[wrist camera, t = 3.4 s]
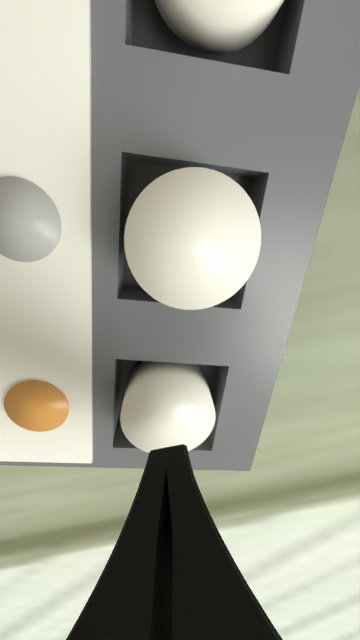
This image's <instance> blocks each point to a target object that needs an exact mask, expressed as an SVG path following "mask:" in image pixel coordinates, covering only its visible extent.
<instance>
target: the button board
mask: <svg viewBox="0 0 360 640" xmlns="http://www.w3.org/2000/svg"><path fill="white" fill-rule="evenodd" d="M359 84H360V0H284V2H283V3H282V5H281V7H280V8H279V10H278V12H277V14H276V15H275V17H274V19H273V20H272V22H271V23H270V24H269V26H268V27H267V29H266V30H265V31H264V32H263V33H262V34H261V35H260V36H259V37H258V38H257V39H256V40H255V41H253V42H252V43H251V44H249V45H248V46H246V47H244V48H243V49H240V50H238V51H236V52H232V53H228V54H219V55H216V54H207V53H204V52H200V51H198V50H196V49H193V48H191V47H190V46H188V45H187V44H185V43H184V42H183V41H181V40H180V39H179V38H178V37H177V36H176V35H175V34H174V33H173V32H172V31H171V29H170V28H169V27H168V26H167V24H166V23H165V21H164V20H163V18H162V16H161V14H160V12H159V11H158V9H157V6H156V4H155V1H154V0H0V465H17V466H61V467H105V468H145V466H146V462H147V459H148V455H149V453H147V452H145V451H142V450H141V449H139V448H137V447H136V446H134V445H133V444H132V443H131V442H130V441H129V440H128V439H127V438H126V436H125V435H124V433H123V431H122V428H121V423H120V416H121V410H122V405H123V399H124V394H125V389H126V384H127V380H128V377H129V375H130V373H131V371H132V370H133V368H134V367H135V366H136V365H137V364H138V363H140V362H141V361H153V362H169V363H185V364H198V365H199V366H200V367H201V369H202V370H203V372H204V373H205V376H206V379H207V383H208V386H209V390H210V393H211V397H212V401H213V404H214V408H215V415H216V418H215V424H214V427H213V429H212V431H211V433H210V435H209V436H208V437H207V438H206V440H205V441H203V442H202V443H201V444H200V445H198V446H197V447H195V448H194V449H192V450H190V451H188V453H189V457H190V462H191V466H192V469H193V470H237V471H250V469H251V466H252V462H253V459H254V455H255V451H256V448H257V444H258V441H259V437H260V434H261V430H262V427H263V423H264V420H265V416H266V413H267V409H268V406H269V402H270V399H271V395H272V391H273V388H274V384H275V381H276V377H277V374H278V370H279V367H280V363H281V360H282V356H283V353H284V349H285V346H286V342H287V338H288V335H289V331H290V328H291V324H292V321H293V317H294V314H295V310H296V307H297V303H298V300H299V296H300V293H301V289H302V286H303V282H304V278H305V275H306V271H307V268H308V264H309V261H310V257H311V254H312V250H313V247H314V243H315V240H316V236H317V233H318V229H319V225H320V222H321V218H322V215H323V211H324V208H325V204H326V201H327V197H328V194H329V190H330V187H331V183H332V180H333V176H334V172H335V169H336V165H337V162H338V158H339V155H340V151H341V148H342V144H343V141H344V137H345V134H346V130H347V127H348V123H349V120H350V116H351V112H352V109H353V105H354V102H355V98H356V95H357V91H358V88H359ZM187 167H202V168H208V169H212V170H215V171H218V172H220V173H223V174H225V175H226V176H228V177H230V178H231V179H233V180H234V181H235V182H237V183H238V184H239V185H240V186H241V187H242V188H243V189H244V190H245V192H246V193H247V194H248V196H249V197H250V198H251V200H252V202H253V204H254V206H255V208H256V211H257V214H258V217H259V221H260V226H261V247H260V253H259V257H258V260H257V263H256V265H255V268H254V270H253V272H252V274H251V275H250V277H249V279H248V280H247V281H246V283H245V284H244V285H243V286H242V287H241V288H240V289H239V291H237V292H236V293H235V294H234V295H233V296H231V297H230V298H228V299H227V300H225V301H223V302H221V303H219V304H217V305H215V306H212V307H209V308H204V309H198V310H184V309H177V308H174V307H170V306H167V305H165V304H163V303H161V302H159V301H157V300H156V299H154V298H153V297H151V296H150V295H149V294H148V293H147V292H146V291H145V290H144V289H143V288H142V287H141V286H140V285H139V284H138V282H137V281H136V279H135V278H134V276H133V274H132V272H131V270H130V268H129V266H128V262H127V259H126V255H125V248H124V233H125V226H126V222H127V218H128V215H129V212H130V210H131V208H132V206H133V204H134V202H135V200H136V199H137V198H138V196H139V195H140V193H141V192H142V191H143V190H144V189H145V188H146V187H147V186H148V185H149V184H150V183H152V182H153V181H154V180H155V179H157V178H158V177H160V176H162V175H164V174H166V173H168V172H171V171H173V170H177V169H181V168H187Z"/></svg>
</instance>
